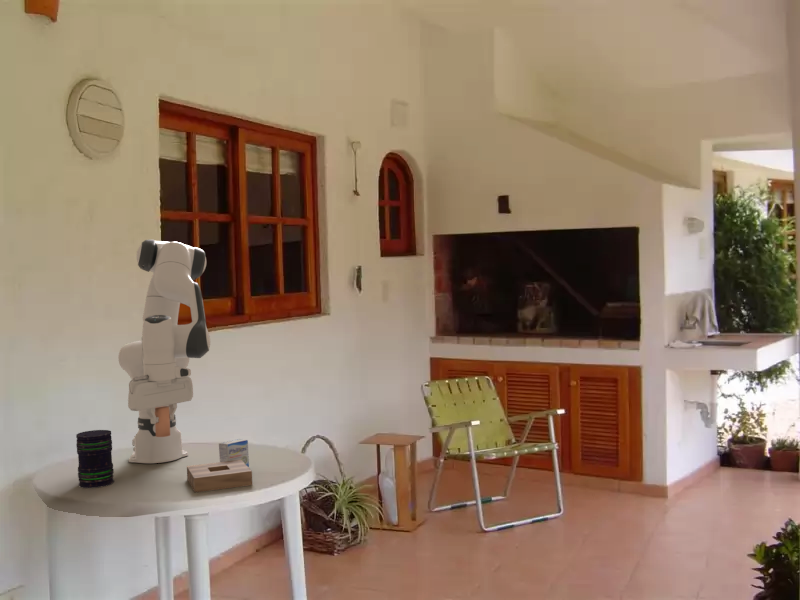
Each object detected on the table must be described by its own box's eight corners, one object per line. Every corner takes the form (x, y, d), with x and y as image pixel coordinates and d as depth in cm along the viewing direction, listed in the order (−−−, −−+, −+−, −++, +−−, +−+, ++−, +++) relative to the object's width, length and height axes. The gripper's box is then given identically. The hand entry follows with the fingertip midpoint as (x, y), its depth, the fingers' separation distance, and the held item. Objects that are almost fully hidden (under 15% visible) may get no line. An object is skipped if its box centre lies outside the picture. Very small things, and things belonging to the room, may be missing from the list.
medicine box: (228, 472, 254) (227, 444, 254) (219, 470, 257) (218, 442, 257) (249, 467, 260) (248, 439, 260) (240, 465, 263) (239, 438, 263)
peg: (160, 433, 240) (159, 406, 240) (173, 434, 239) (171, 406, 239) (152, 436, 237) (151, 408, 236) (165, 437, 235) (164, 408, 235)
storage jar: (100, 477, 254) (98, 428, 253) (121, 481, 248) (118, 431, 248) (71, 485, 246) (68, 434, 245) (91, 489, 240) (89, 437, 239)
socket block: (187, 479, 248) (186, 466, 248) (241, 472, 253) (241, 459, 253) (195, 492, 233) (194, 478, 233) (252, 485, 239) (251, 471, 238)
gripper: (136, 378, 227) (138, 429, 227) (195, 369, 243) (197, 416, 244) (121, 377, 231) (124, 427, 231) (180, 368, 247) (183, 414, 248)
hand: (162, 421), depth 238 cm, fingers closed on peg, 4 cm apart
